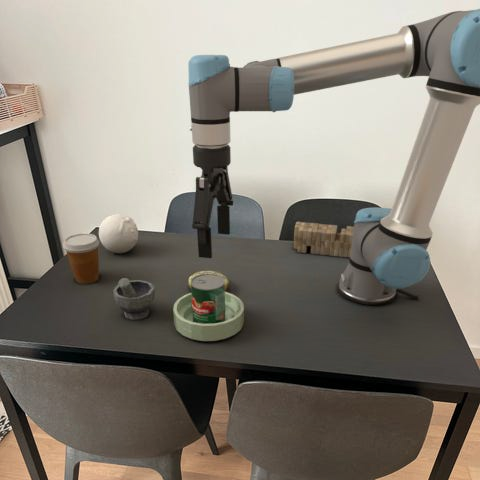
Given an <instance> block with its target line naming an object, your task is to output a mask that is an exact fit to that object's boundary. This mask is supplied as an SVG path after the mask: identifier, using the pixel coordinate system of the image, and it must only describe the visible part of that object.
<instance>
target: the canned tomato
mask: <svg viewBox="0 0 480 480" xmlns="http://www.w3.org/2000/svg"><path fill="white" fill-rule="evenodd" d="M190 283H191V288H190V293H191V296H192V314H193V315H192V316H193V322H195V323H201V324H215V323H220V322H224V321H225V292H226V291H225V280H224V278H223V277H221V276H219V275H216V274H200V275H197V276H195V277H193V278H192V279H191V282H190Z"/></svg>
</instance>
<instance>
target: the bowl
mask: <svg viewBox="0 0 480 480" xmlns="http://www.w3.org/2000/svg"><path fill="white" fill-rule="evenodd" d="M172 314H173V326H174V328H175V330H176V331H177V332H178V333H179V334H180V335H182V337H185V338H188V339H191V340H195V341H201V342H217V341H220V340H226V339H228V338H230V337H233V336H235V335H236V334H238V333H239V332H240V331H241V330H242V328H243V327H244V325H245V324H244V323H245V304H244V302H243V301H242V300H241V298H239V296H236V295H235V294H233V293H230V292H228V291H225V321H224V322H220V323H215V324H201V323H195V322H193V316H192V315H193V314H192V296H191V292H189V293H186V294H185V295H182V296H181V297H179V298H178V299H177V300H176V301H175V303H173V309H172Z"/></svg>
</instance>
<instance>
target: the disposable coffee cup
mask: <svg viewBox="0 0 480 480" xmlns="http://www.w3.org/2000/svg"><path fill="white" fill-rule="evenodd" d="M99 246H100V239H98V237H97V235H95V234H93V233H87V232H85V233H81V232H80V233H74V234H71V235H69V236H66V237H65V238H64V239H63V244H62V247H63V249H64V250H65V251H66V252H65V253H66V255H67V258H68V261H69V263H70V267H71V270H72V273H73V276H74V278H75V281H76V282H77V283H79V284H81V285H82V284H84V285H86V284H92V283H94V282H97V281H98V280H99V279H100V269H99Z"/></svg>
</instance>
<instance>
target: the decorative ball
mask: <svg viewBox="0 0 480 480" xmlns="http://www.w3.org/2000/svg"><path fill="white" fill-rule="evenodd" d="M98 237H99V242H100V243H101V245H102V246H103V247H104V248H105V249H106V250H107V251H109V252H111V253H114V254H124V253H128V252H129V251H131V250H132V249H133V248H134V247H135V246H136V244H137V243H138V239H139V229H138V226H137V224H136V222H135V221H134V220H133V218H132V217H130V216H127V215H124V214H119V213H118V214H111V215H109V216H106V218H104V219H103V220H102V221H101V223H100V225H99V228H98Z"/></svg>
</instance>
